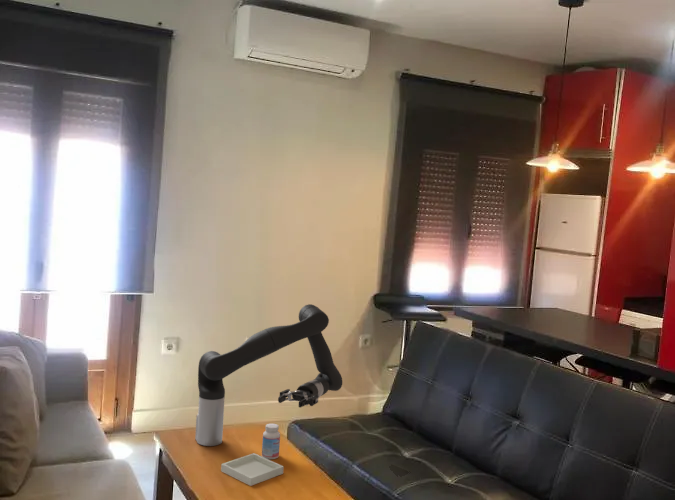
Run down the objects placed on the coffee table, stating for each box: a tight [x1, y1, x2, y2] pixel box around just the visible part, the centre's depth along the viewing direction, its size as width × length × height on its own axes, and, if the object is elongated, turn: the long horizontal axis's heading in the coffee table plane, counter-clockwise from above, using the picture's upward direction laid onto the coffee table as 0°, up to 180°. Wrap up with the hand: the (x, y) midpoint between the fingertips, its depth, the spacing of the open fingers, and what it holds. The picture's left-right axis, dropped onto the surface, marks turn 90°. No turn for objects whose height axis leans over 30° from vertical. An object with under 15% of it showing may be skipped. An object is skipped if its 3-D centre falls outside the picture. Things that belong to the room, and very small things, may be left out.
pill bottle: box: [261, 423, 281, 460], centre depth 247 cm, size 6×6×11 cm
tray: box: [220, 452, 285, 487], centre depth 233 cm, size 15×15×2 cm
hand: (289, 402), depth 256 cm, fingers open, 8 cm apart
